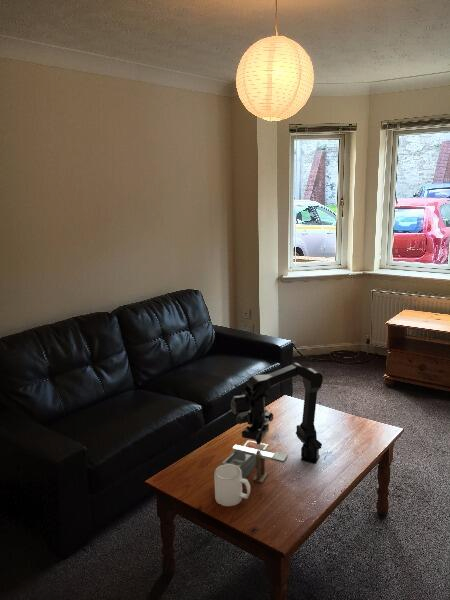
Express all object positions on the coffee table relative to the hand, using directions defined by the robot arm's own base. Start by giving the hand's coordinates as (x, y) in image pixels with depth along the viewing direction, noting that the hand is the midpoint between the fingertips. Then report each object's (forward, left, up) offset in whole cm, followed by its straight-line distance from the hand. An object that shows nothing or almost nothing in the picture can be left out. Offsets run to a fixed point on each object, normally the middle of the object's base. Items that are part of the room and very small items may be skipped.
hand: (258, 444), depth 190 cm
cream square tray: (+7, -11, -13) cm, 18 cm away
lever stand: (-2, +3, -13) cm, 13 cm away
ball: (+8, -12, -10) cm, 17 cm away
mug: (+3, +20, -13) cm, 24 cm away
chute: (+7, +3, -13) cm, 15 cm away
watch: (+12, -32, -13) cm, 36 cm away
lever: (-2, +3, -7) cm, 8 cm away
